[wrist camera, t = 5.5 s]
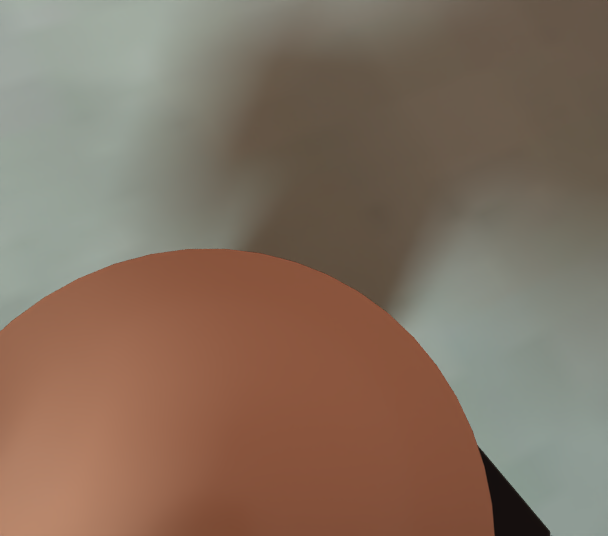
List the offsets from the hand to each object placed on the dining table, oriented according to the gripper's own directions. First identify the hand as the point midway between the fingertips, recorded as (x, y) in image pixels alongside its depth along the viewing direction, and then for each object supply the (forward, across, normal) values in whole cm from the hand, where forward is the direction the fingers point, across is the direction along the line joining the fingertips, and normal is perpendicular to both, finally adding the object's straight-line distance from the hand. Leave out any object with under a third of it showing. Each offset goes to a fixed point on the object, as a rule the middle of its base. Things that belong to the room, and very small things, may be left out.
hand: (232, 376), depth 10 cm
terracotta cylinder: (+4, 0, +6) cm, 7 cm away
